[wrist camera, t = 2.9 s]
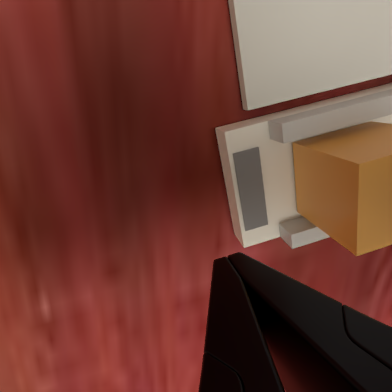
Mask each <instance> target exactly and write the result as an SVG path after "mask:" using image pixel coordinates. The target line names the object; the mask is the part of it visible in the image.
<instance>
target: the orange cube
mask: <svg viewBox="0 0 392 392" xmlns="http://www.w3.org/2000/svg"><path fill="white" fill-rule="evenodd" d="M292 144H293V158H294V172H295V186H296V200H297V212H298V213H299V214H301V215H302V216H303V217H305V218H306V219H307V220H309V221H310V222H311V223H313V224H314V225H315V226H317V227H318V228H319V229H321V230H322V231H323V232H325V233H326V234H327V235H329V236H330V237H331V238H333V239H334V240H335V241H337V242H338V243H339V244H341V245H342V246H344V247H345V248H346V249H348V250H349V251H350V252H352V253H353V254H354V255H356V256H359V255H362V254H365V253H368V252H371V251H374V250H377V249H380V248H383V247H386V246H389V245H392V124H389V123H381V122H373V121H370V122H366V123H363V124H359V125H355V126H352V127H348V128H344V129H340V130H337V131H333V132H329V133H326V134H322V135H318V136H315V137H311V138H307V139H304V140H300V141H296V142H292Z"/></svg>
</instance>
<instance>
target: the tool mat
mask: <svg viewBox="0 0 392 392" xmlns="http://www.w3.org/2000/svg"><path fill="white" fill-rule="evenodd" d="M228 3H229V10H230V18H231V25H232V32H233V40H234V47H235V54H236V61H237V69H238V76H239V83H240V91H241V98H242V105H243V110H252V109H256V108H260V107H264V106H268V105H272V104H276V103H280V102H284V101H288V100H292V99H296V98H300V97H304V96H308V95H312V94H316V93H320V92H324V91H328V90H332V89H335V88H339V87H343V86H347V85H351V84H355V83H359V82H363V81H367V80H371V79H375V78H379V77H383V76H387V75H391V74H392V0H228Z"/></svg>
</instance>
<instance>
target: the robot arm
mask: <svg viewBox="0 0 392 392" xmlns="http://www.w3.org/2000/svg"><path fill="white" fill-rule="evenodd" d="M284 389H285V390H286V392H392V327H390V326H388V325H385V324H383V323H381V322H379V321H377V320H375V319H373V318H371V317H369V316H367V315H364V314H362V313H360V312H358V311H356V310H354V309H352V308H350V307H348V306H346V305H343V306H342V303H340V302H338V301H336V300H334V299H332V298H330V297H328V296H326V295H324V294H322V293H320V292H318V291H316V290H314V289H312V288H310V287H308V286H306V285H304V284H302V283H300V282H299V281H297V280H295V279H293V278H291V277H289V276H287V275H285V274H283V273H281V272H279V271H277V270H275V269H273V268H271V267H269V266H267V265H265V264H263V263H261V262H259V261H257V260H255V259H253V258H251V257H249V256H247V255H245V254H243V253H241V252H238V253H235V254H232V255H229V256H228V258H227V257H222V258H219V259H216V260H214V262H213V271H212V281H211V290H210V299H209V308H208V318H207V327H206V336H205V346H204V355H203V362H202V371H201V378H200V385H199V392H285V390H284Z"/></svg>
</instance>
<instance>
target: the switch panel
mask: <svg viewBox="0 0 392 392" xmlns="http://www.w3.org/2000/svg"><path fill="white" fill-rule="evenodd" d="M370 121H373V122H381V123H389V124H392V83H389V84H385V85H381V86H377V87H373V88H369V89H365V90H361V91H357V92H354V93H350V94H346V95H342V96H338V97H334V98H330V99H326V100H322V101H318V102H314V103H310V104H307V105H303V106H299V107H295V108H291V109H287V110H283V111H279V112H275V113H271V114H267V115H263V116H260V117H256V118H252V119H248V120H244V121H240V122H236V123H232V124H228V125H224V126H220V127H216V128H215V130H216V136H217V141H218V147H219V152H220V158H221V163H222V169H223V174H224V180H225V185H226V191H227V196H228V202H229V207H230V213H231V218H232V224H233V229H234V234H235V236H236V237H237V238H238V240H239V241H240V243H241V244H242V246H243V247H244V248H246V247H249V246H252V245H255V244H258V243H262V242H265V241H268V240H271V239H275V238H278V237H281V238H282V239H283V240H284V241H285V242H286V243H287V244H288V245H289V246H290V247H291V248H292V249H294V248H297V247H300V246H303V245H307V244H310V243H313V242H316V241H319V240H322V239H325V238H329V237H330V236H329V235H327V234H326V233H325V232H323V231H322V230H321V229H319V228H318V227H317V226H315V225H314V224H313V223H311V222H310V221H309V220H307V219H306V218H305V217H303V216H302V215H301V214H299V213H298V212H297V200H296V186H295V172H294V158H293V144H292V142H296V141H300V140H304V139H307V138H311V137H315V136H318V135H322V134H326V133H329V132H333V131H337V130H340V129H344V128H348V127H352V126H355V125H359V124H363V123H366V122H370Z"/></svg>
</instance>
